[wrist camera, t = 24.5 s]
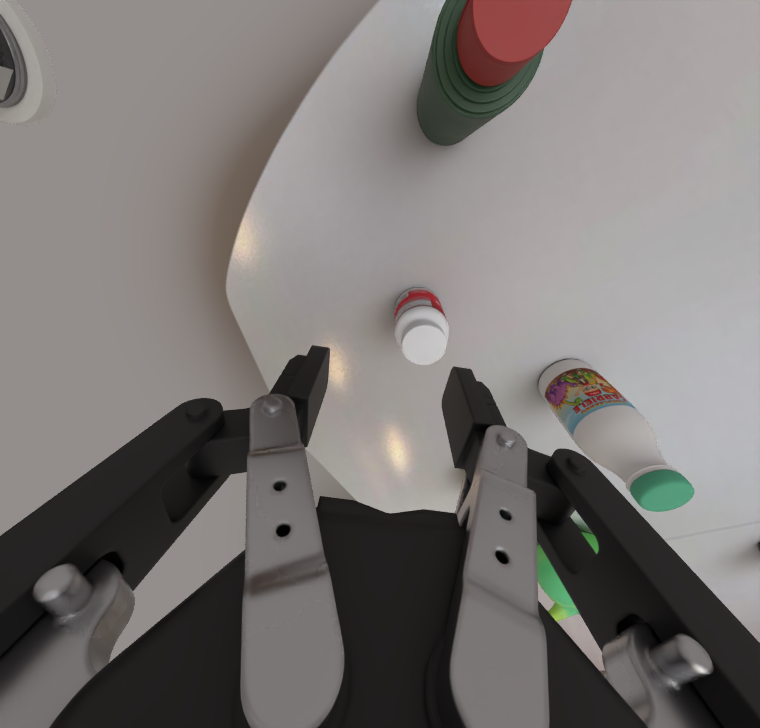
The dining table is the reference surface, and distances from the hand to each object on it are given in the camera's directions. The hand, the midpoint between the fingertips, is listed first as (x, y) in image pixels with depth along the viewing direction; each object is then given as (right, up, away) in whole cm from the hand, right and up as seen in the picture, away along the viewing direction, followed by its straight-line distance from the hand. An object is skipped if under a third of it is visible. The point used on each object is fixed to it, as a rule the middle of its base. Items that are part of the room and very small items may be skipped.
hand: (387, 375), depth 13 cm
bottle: (+6, +26, +16) cm, 31 cm away
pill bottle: (+5, +8, +27) cm, 29 cm away
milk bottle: (+28, -2, +32) cm, 42 cm away
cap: (+6, +18, +3) cm, 19 cm away
